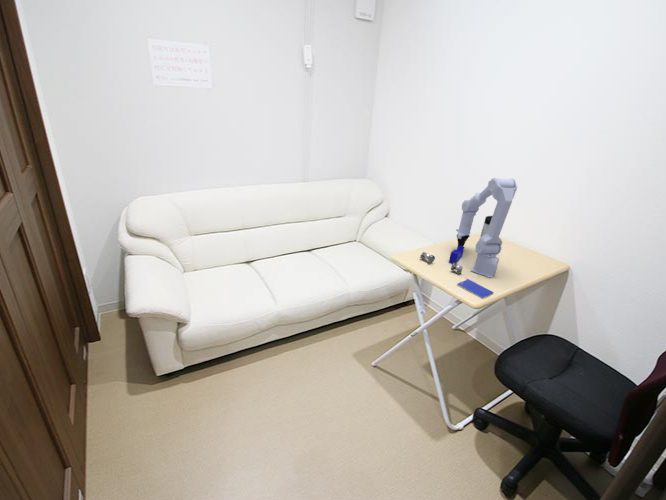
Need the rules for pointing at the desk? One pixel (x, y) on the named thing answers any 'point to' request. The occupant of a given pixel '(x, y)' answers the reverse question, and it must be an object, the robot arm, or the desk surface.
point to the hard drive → (475, 288)
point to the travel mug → (486, 225)
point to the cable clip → (456, 254)
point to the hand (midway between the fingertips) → (460, 247)
